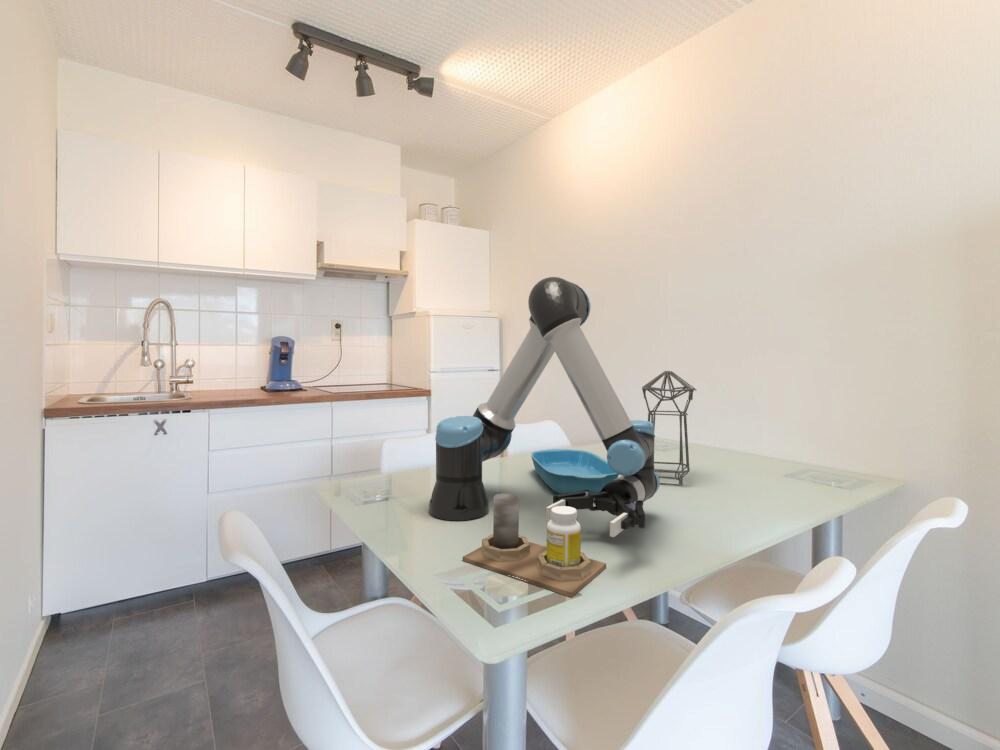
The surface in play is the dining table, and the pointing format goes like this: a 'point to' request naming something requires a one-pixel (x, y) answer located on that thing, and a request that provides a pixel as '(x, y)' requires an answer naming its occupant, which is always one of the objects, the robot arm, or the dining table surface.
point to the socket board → (527, 554)
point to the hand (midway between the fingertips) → (578, 521)
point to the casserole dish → (572, 470)
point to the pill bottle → (563, 537)
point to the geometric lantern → (687, 388)
